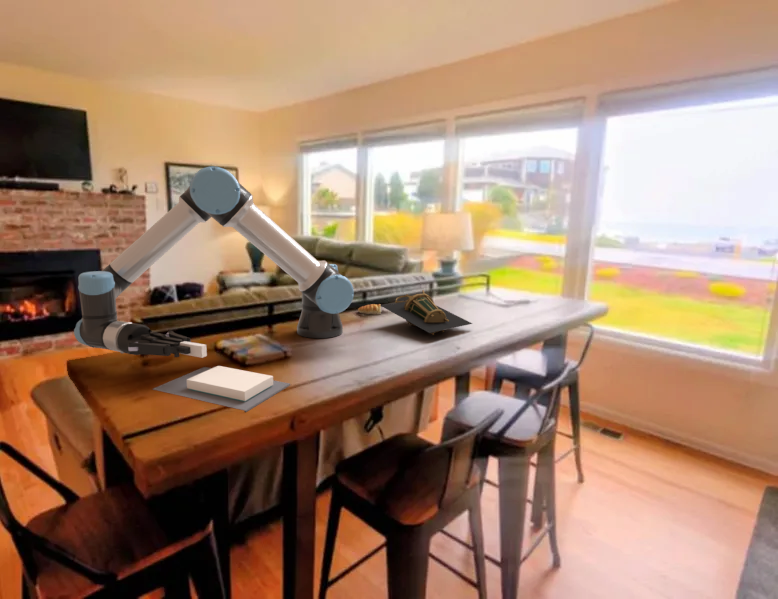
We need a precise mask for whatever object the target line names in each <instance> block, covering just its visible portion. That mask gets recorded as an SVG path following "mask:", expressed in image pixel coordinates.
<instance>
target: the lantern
mask: <svg viewBox="0 0 778 599" xmlns="http://www.w3.org/2000/svg"><path fill="white" fill-rule="evenodd" d="M401 298H408V299H407V300H399V299H401ZM380 306H381V308H384V309H386V310H387V311H390V312H391V313H393V314H394V315H397V316H399V318H402V319H404V320H405V321H406V322H407V324H408V325H409V326H412V327H413V326H414V327H418V328H420V329H421V330H424V331H425V332H426V333H428V334H432V335H433V336H434V335H435V334H436V333H439V332H442V333H444V332H445V330H449V329H454V328H458V327H459V328H460V327H464V326H468V325H473V322H471V321H468V320H467V319H464V318H462V317H461V316H458V315H457V314H454V313H452V312H450V311H448V310H446V309H444V308H442V307H440V306H439V305H437V304H435V302H434V299H433V298H432V297H431V296H430V295H428V294H427V293H425V290H424V289H422V293H416V294H414V295H410V294H407V293H406V295H400V296H398V297H396V299H395V301H394V302H391V303H386V304H381V305H380Z"/></svg>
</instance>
